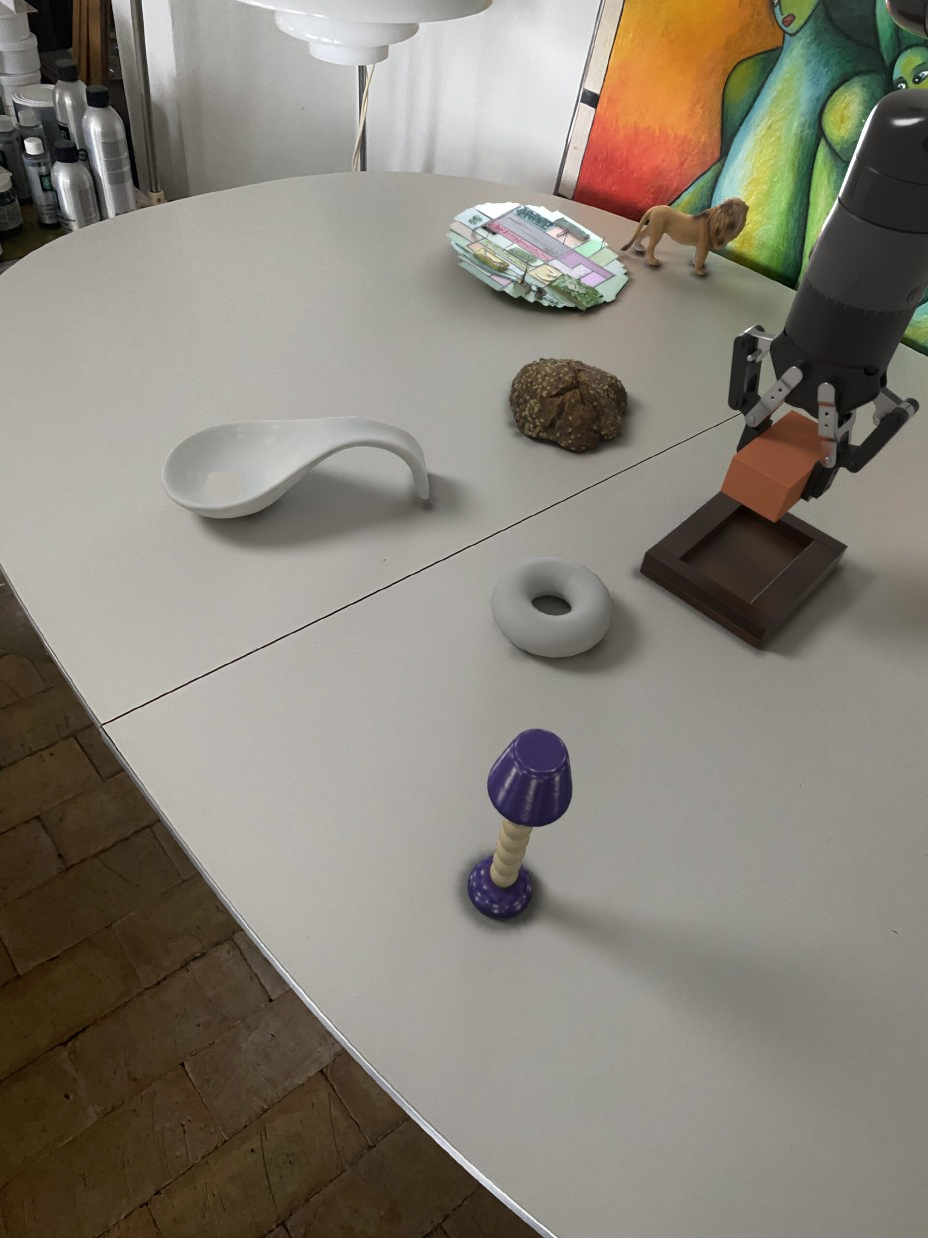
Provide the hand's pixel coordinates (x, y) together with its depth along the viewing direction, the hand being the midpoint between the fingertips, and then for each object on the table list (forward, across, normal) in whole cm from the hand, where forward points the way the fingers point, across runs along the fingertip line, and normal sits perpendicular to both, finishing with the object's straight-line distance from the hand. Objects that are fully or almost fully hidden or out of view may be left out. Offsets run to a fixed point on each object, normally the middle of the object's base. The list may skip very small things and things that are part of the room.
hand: (777, 477), depth 70 cm
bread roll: (+11, +25, -6) cm, 28 cm away
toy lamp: (+11, -5, +37) cm, 39 cm away
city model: (+11, +47, -27) cm, 55 cm away
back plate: (+10, 0, 0) cm, 10 cm away
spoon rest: (+11, +34, +22) cm, 42 cm away
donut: (+11, +8, +17) cm, 22 cm away
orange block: (0, 0, 0) cm, 0 cm away
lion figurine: (+11, +36, -43) cm, 57 cm away
